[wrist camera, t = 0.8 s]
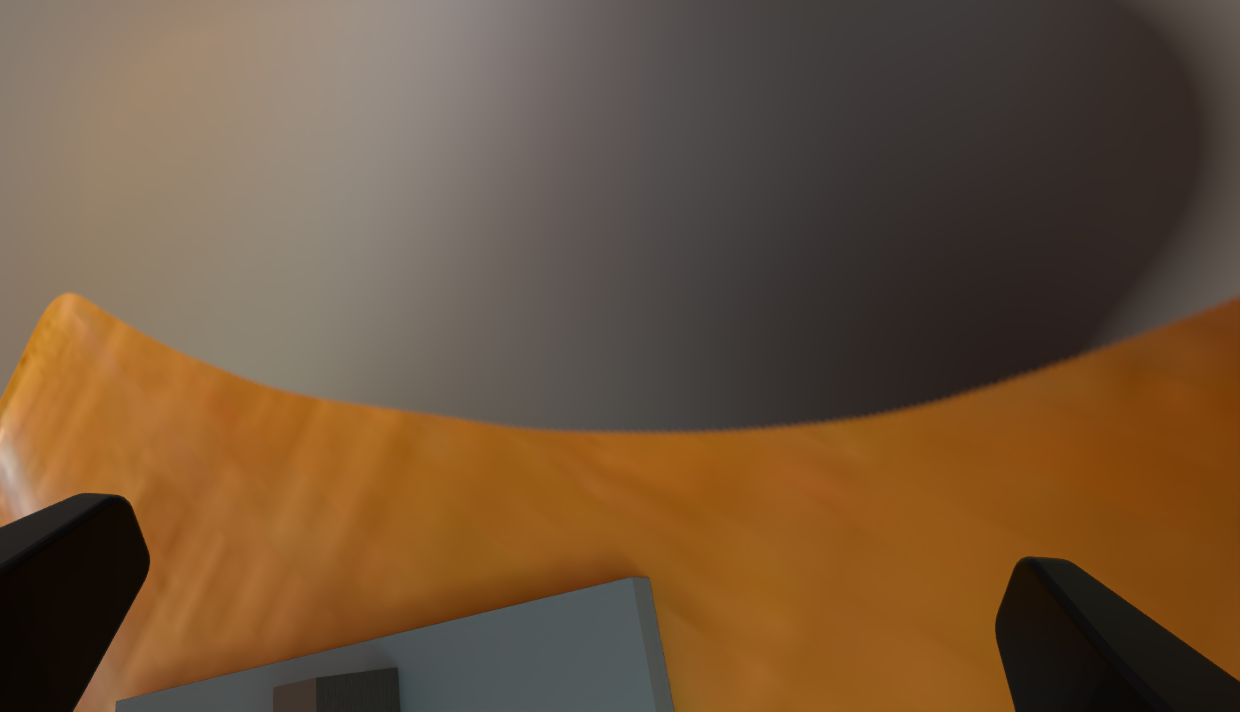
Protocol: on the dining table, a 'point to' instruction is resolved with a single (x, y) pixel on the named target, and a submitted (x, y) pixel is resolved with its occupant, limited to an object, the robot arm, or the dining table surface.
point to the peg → (341, 693)
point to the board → (482, 662)
